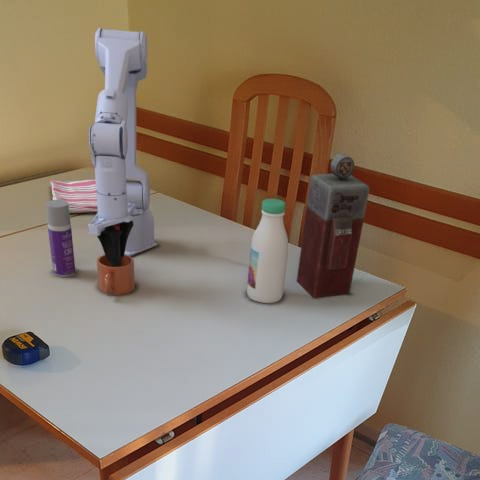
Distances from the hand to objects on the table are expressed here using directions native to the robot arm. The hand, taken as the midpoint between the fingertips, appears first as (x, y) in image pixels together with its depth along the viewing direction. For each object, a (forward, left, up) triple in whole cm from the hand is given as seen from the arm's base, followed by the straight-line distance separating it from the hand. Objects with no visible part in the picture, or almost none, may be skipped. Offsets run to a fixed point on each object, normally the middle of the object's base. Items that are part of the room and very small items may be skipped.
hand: (115, 258), depth 129 cm
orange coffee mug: (+1, +1, -6) cm, 7 cm away
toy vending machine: (-31, +33, -7) cm, 46 cm away
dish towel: (-32, -45, -7) cm, 56 cm away
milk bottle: (-19, +25, -7) cm, 32 cm away
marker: (0, 0, -2) cm, 2 cm away
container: (+3, -13, -7) cm, 15 cm away
